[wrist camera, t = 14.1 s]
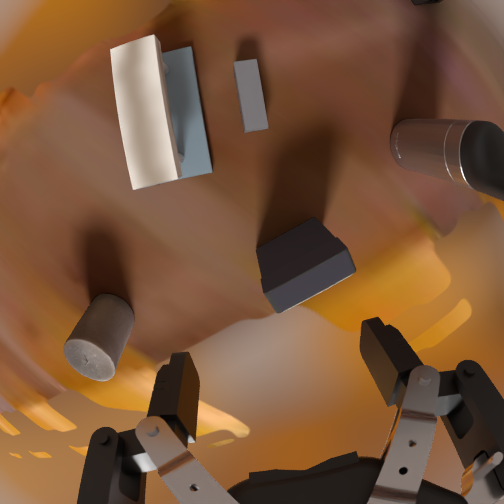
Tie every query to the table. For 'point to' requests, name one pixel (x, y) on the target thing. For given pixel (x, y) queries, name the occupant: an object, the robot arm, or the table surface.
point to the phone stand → (425, 1)
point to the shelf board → (145, 112)
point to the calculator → (302, 264)
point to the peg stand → (186, 112)
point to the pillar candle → (100, 337)
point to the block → (250, 95)
